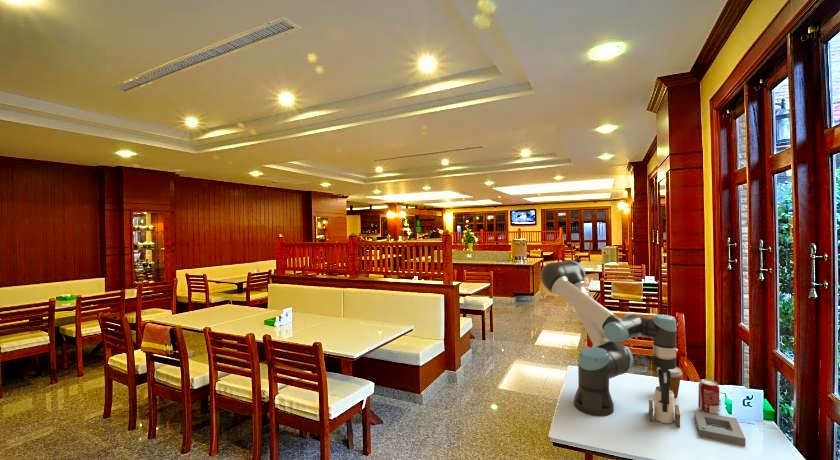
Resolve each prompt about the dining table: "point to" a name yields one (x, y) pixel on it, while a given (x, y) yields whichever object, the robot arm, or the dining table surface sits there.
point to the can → (657, 406)
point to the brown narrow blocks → (677, 413)
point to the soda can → (708, 396)
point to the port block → (715, 433)
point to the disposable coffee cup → (674, 380)
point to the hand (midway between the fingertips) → (663, 414)
